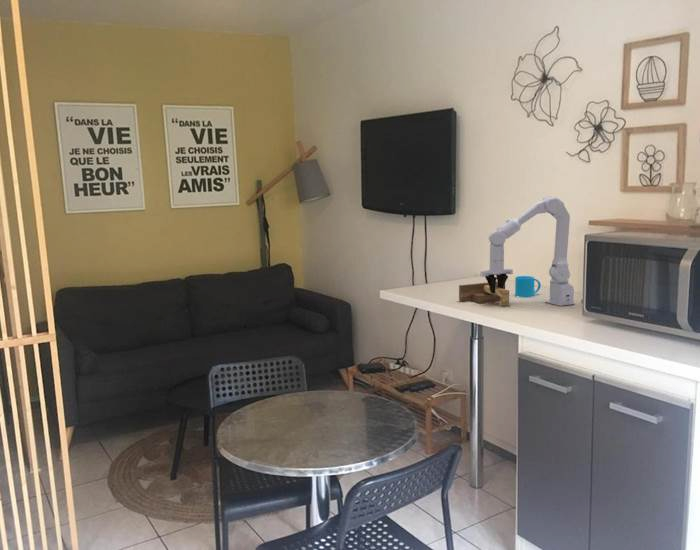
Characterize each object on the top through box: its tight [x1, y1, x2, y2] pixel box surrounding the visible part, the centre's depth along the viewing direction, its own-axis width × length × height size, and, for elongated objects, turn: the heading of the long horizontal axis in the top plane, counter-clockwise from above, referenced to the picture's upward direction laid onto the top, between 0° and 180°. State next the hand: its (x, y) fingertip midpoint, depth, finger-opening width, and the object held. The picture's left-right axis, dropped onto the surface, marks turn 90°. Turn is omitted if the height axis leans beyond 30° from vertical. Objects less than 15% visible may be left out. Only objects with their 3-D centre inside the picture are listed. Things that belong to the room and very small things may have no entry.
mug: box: [514, 275, 542, 298], centre depth 280 cm, size 12×8×8 cm
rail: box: [484, 285, 510, 307], centre depth 264 cm, size 14×3×6 cm, turn 21°
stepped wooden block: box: [458, 281, 506, 304], centre depth 270 cm, size 8×22×7 cm, turn 112°
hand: (496, 292), depth 263 cm, fingers closed on rail, 3 cm apart
